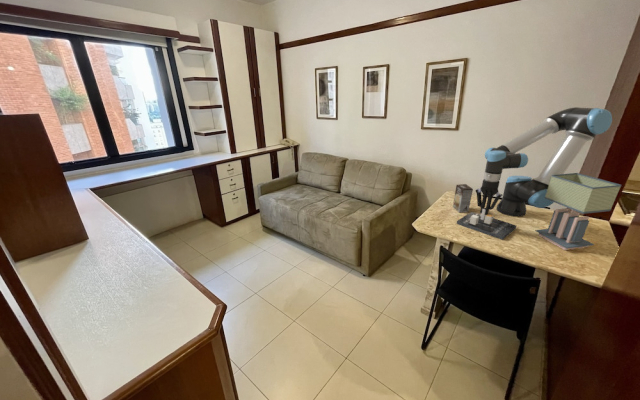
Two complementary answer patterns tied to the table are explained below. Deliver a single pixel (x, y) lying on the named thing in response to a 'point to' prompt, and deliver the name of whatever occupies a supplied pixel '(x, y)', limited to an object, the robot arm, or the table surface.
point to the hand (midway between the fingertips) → (482, 218)
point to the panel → (488, 226)
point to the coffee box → (462, 198)
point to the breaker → (474, 219)
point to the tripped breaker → (488, 219)
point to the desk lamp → (576, 207)
